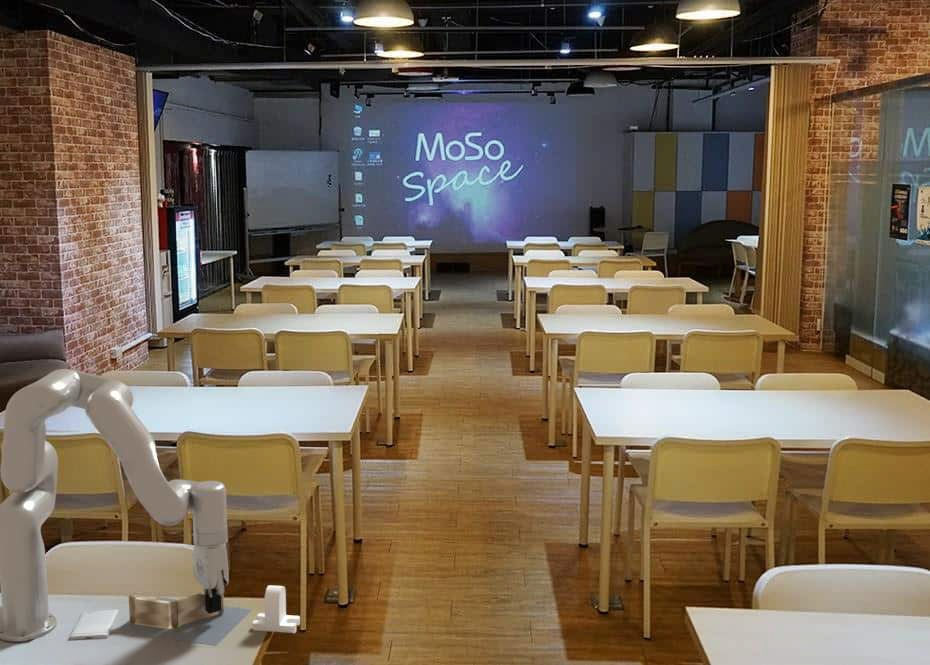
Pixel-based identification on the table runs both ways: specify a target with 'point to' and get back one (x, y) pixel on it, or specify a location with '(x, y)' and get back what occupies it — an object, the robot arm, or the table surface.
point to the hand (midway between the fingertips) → (213, 610)
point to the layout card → (193, 627)
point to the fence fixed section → (149, 611)
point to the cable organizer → (276, 613)
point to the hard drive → (94, 624)
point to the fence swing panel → (191, 609)
